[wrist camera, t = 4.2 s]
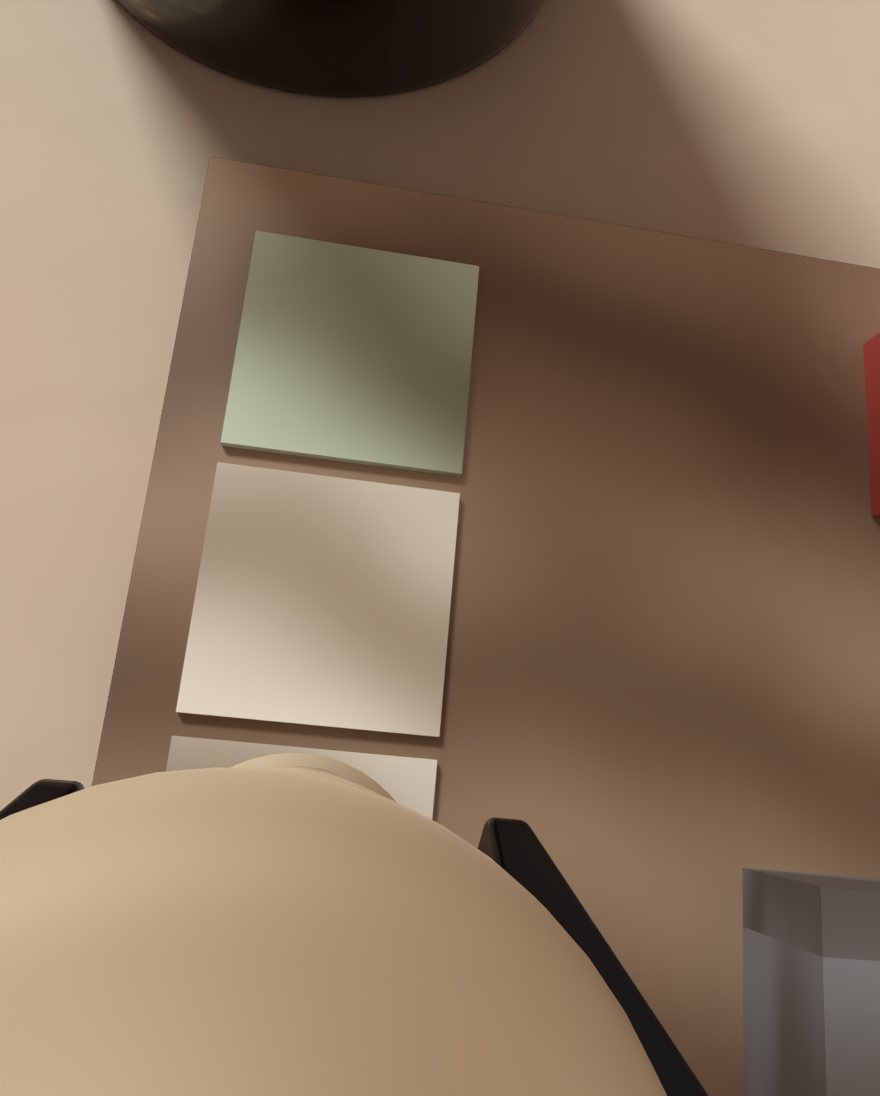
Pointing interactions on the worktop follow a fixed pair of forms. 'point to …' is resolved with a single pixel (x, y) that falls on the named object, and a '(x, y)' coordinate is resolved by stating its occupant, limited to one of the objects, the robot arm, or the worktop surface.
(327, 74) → the jar
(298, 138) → the worktop surface
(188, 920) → the pawn
